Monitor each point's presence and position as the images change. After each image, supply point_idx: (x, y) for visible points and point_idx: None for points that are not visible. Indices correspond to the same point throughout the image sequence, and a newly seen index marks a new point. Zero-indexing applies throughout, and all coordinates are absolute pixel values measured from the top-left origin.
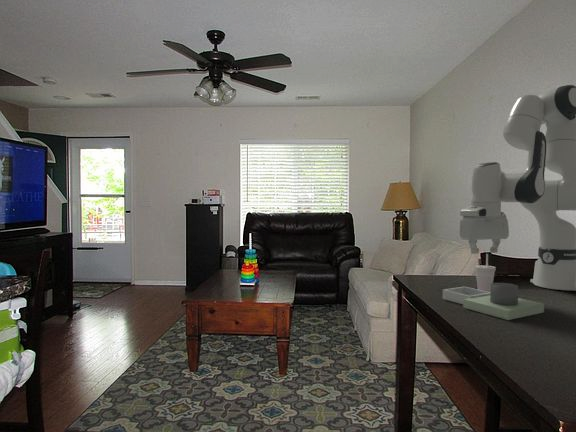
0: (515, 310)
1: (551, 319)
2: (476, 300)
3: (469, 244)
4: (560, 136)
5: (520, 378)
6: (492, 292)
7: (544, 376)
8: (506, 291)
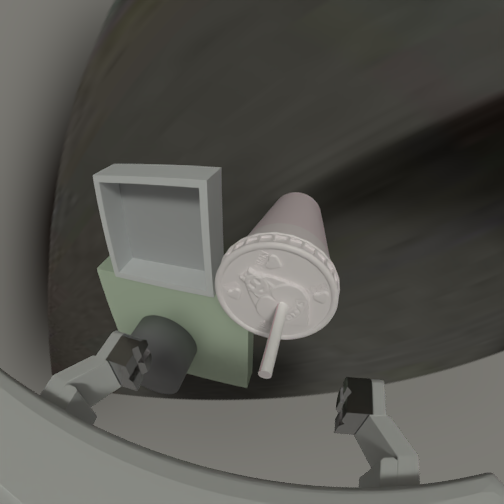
0: None
1: (216, 383)
2: (118, 293)
3: (66, 369)
4: None
5: (55, 367)
6: None
7: None
8: None
